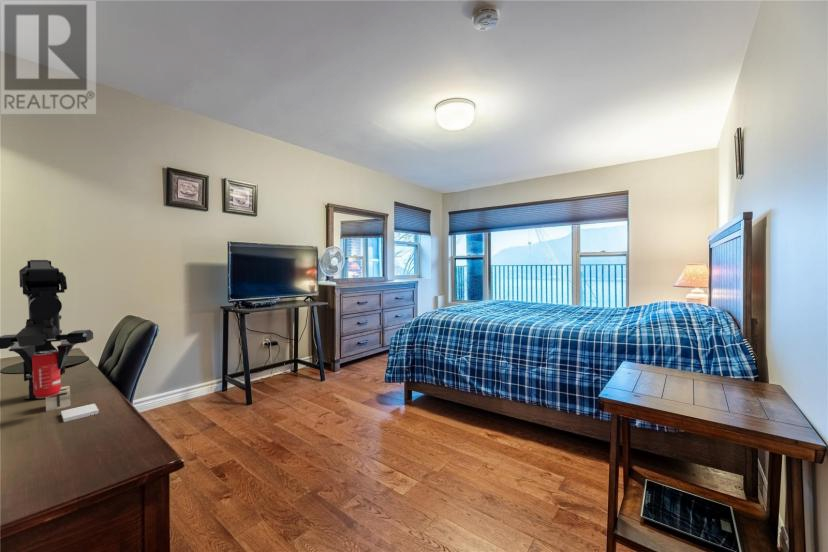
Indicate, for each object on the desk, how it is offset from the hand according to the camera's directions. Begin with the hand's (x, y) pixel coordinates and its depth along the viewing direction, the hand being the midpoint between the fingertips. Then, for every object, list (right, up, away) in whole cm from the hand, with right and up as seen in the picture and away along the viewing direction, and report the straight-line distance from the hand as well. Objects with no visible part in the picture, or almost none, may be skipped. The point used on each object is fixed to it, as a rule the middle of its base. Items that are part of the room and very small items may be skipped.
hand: (46, 369), depth 96 cm
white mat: (+8, -13, +2) cm, 15 cm away
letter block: (-4, -13, +7) cm, 15 cm away
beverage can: (0, -7, 0) cm, 7 cm away
